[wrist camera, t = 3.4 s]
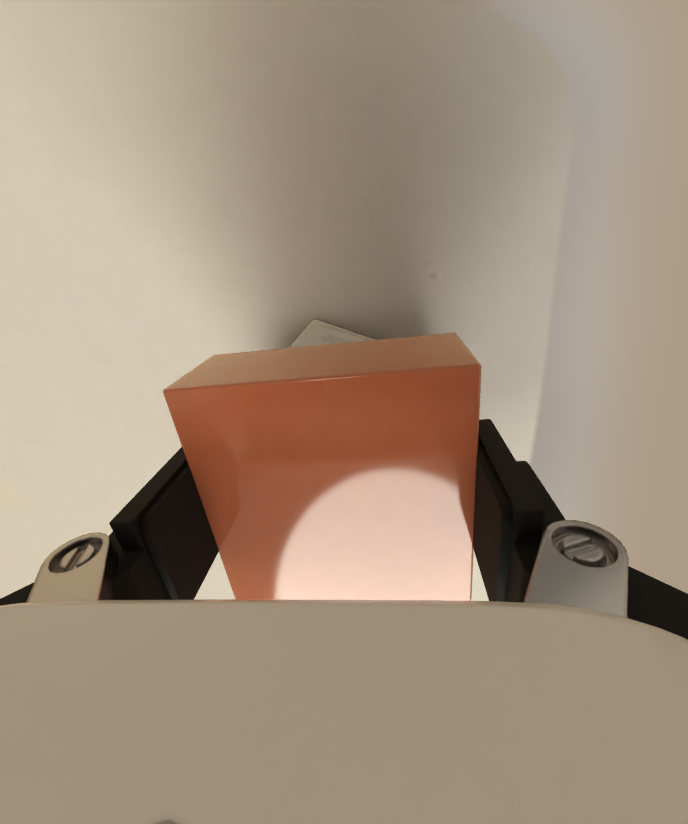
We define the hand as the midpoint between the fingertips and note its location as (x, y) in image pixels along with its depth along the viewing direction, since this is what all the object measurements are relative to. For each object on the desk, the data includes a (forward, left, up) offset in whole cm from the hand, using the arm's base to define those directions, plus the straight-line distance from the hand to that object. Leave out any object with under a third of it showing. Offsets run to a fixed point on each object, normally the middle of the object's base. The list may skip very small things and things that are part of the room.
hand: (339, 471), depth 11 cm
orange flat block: (0, 0, -1) cm, 1 cm away
